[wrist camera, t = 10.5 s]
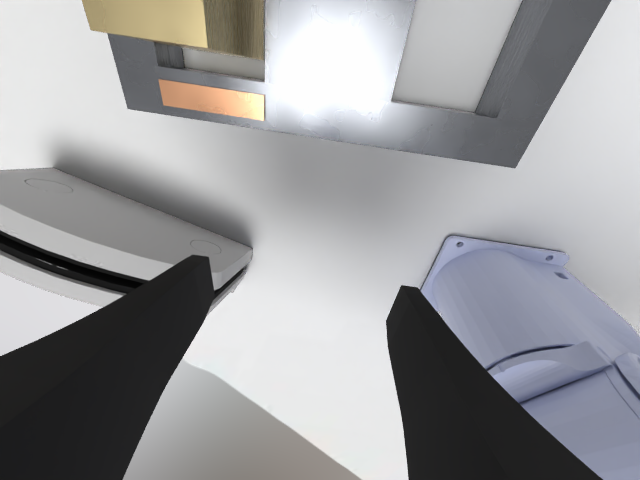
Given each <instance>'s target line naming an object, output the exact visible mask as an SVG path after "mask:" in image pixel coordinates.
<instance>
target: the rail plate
mask: <svg viewBox="0 0 640 480" xmlns="http://www.w3.org/2000/svg"><path fill="white" fill-rule="evenodd" d="M610 2H611V0H523V1H522V4H521V6H520V8H519V11H518V13H517V15H516V18H515V20H514V22H513V25H512V27H511V30H510V32H509V34H508V37H507V39H506V41H505V44H504V46H503V48H502V51H501V53H500V55H499V58H498V60H497V62H496V65H495V67H494V69H493V72H492V74H491V76H490V79H489V81H488V83H487V86H486V88H485V90H484V93H483V95H482V97H481V100H480V102H479V105H478V107H477V109H476V112H475V113H474V112H467V111H461V110H454V109H448V108H441V107H435V106H428V105H422V104H415V103H409V102H402V101H396V100H391V98H392V94H393V90H394V86H395V82H396V78H397V74H398V70H399V66H400V62H401V58H402V54H403V50H404V47H405V43H406V39H407V35H408V31H409V27H410V23H411V19H412V15H413V11H414V7H415V3H416V0H265V80H259V79H253V78H246V77H240V76H233V75H227V74H220V73H213V72H207V71H200V70H194V69H187V68H184V61H183V54H182V47H177V46H172V45H167V44H162V43H156V42H151V41H146V40H140V39H135V38H130V37H125V36H119V35H114V34H109V33H107V34H108V37H109V41H110V45H111V49H112V52H113V56H114V60H115V63H116V67H117V71H118V74H119V78H120V82H121V85H122V89H123V93H124V97H125V100H126V104H127V108H128V109H131V110H138V111H145V112H151V113H158V114H164V115H171V116H177V117H184V118H190V119H197V120H203V121H210V122H216V123H223V124H230V125H236V126H243V127H249V128H256V129H262V130H269V131H275V132H282V133H288V134H295V135H301V136H308V137H314V138H321V139H328V140H334V141H341V142H347V143H354V144H360V145H367V146H373V147H380V148H386V149H393V150H399V151H406V152H413V153H419V154H426V155H432V156H439V157H445V158H452V159H458V160H465V161H471V162H478V163H484V164H491V165H497V166H504V167H511V168H516V166H517V164H518V163H519V161H520V159H521V157H522V156H523V154H524V152H525V150H526V149H527V147H528V145H529V143H530V142H531V140H532V138H533V136H534V135H535V133H536V131H537V129H538V128H539V126H540V124H541V122H542V121H543V119H544V117H545V115H546V114H547V112H548V110H549V108H550V107H551V105H552V103H553V101H554V100H555V98H556V96H557V94H558V93H559V91H560V89H561V87H562V86H563V84H564V82H565V80H566V79H567V77H568V75H569V73H570V72H571V70H572V68H573V66H574V65H575V63H576V61H577V59H578V58H579V56H580V54H581V52H582V51H583V49H584V47H585V45H586V44H587V42H588V40H589V38H590V37H591V35H592V33H593V31H594V30H595V28H596V26H597V24H598V23H599V21H600V19H601V17H602V16H603V14H604V12H605V10H606V9H607V7H608V5H609V3H610Z"/></svg>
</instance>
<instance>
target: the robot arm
mask: <svg viewBox="0 0 640 480" xmlns="http://www.w3.org/2000/svg"><path fill="white" fill-rule="evenodd" d="M458 242H461V243H460V244H457V243H458ZM456 244H457V245H456ZM547 256H548V257H547ZM568 260H569V256H568V255H567V254H566V253H564V252H558V251H551V250H545V249H538V248H531V247H525V246H518V245H512V244H505V243H499V242H492V241H485V240H479V239H472V238H466V237H459V236H450V237H448V238H447V239H446V241H445V243H444V245H443V247H442V249H441V251H440V253H439V255H438V257H437V259H436V261H435V263H434V265H433V267H432V269H431V271H430V273H429V275H428V277H427V279H426V281H425V283H424V285H423V287H422V289H421V291H420V290H419V289H418V288H417V287H410V286H403V285H401V287H400V290H399V292H398V294H397V297H396V299H395V301H394V304H393V306H392V308H391V311H390V313H389V315H388V318H387V320H386V326H387V340H388V349H389V355H390V360H391V365H392V370H393V375H394V380H395V385H396V390H397V395H398V400H399V405H400V410H401V416H402V422H403V429H404V438H405V447H406V456H407V466H408V477H409V480H640V337H639V335H638V334H637V332H636V331H635V330H634V329H633V327H632V326H631V325H630V324H629V323H628V322H626V321H625V320H624V319H623V318H622V317H621V316H619V315H618V314H617V313H616V312H615V311H614V310H613V309H611V308H610V307H609V306H608V305H607V304H606V303H604V302H603V301H602V300H601V299H600V298H599V297H597V296H596V295H595V294H594V293H593V292H592V291H590V290H589V289H588V288H587V287H586V286H585V285H583V284H582V283H581V282H580V281H579V280H578V279H577V278H575V277H574V276H573V275H572V274H571V273H570V272H568V271H567V270H566V269H565V268H564V267H563V266H564V265H565V264H566V263H567V261H568ZM214 297H215V293H214V286H213V280H212V273H211V267H210V261H209V257H207V256H200V255H193V254H192V255H191V256H189V257H187V258H185V259H184V260H182V261H181V262H179V263H177V264H176V265H174V266H172V267H171V268H169V269H168V270H166V271H164V272H163V273H161V274H160V275H158V276H156V277H155V278H153V279H151V280H150V281H148V282H146V283H145V284H143V285H141V286H140V287H138V288H136V289H135V290H133V291H131V292H130V293H128V294H126V295H124V296H122V297H121V298H119V299H117V300H115V301H113V302H112V303H110V304H108V305H106V306H105V307H103V308H101V309H99V310H98V311H96V312H94V313H92V314H90V315H88V316H86V317H84V318H82V319H80V320H78V321H76V322H74V323H72V324H70V325H68V326H66V327H64V328H62V329H60V330H58V331H56V332H54V333H52V334H50V335H48V336H45V337H43V338H41V339H39V340H37V341H34V342H32V343H30V344H28V345H25V346H23V347H21V348H18V349H16V350H14V351H11V352H9V353H7V354H5V355H2V356H0V480H122V479H123V477H124V475H125V472H126V470H127V468H128V465H129V463H130V461H131V459H132V456H133V454H134V452H135V450H136V448H137V445H138V443H139V441H140V439H141V437H142V434H143V432H144V430H145V427H146V426H147V423H148V421H149V419H150V417H151V415H152V413H153V411H154V409H155V407H156V405H157V403H158V401H159V398H160V396H161V394H162V392H163V390H164V389H165V387H166V385H167V383H168V381H169V380H170V378H171V376H172V374H173V373H174V371H175V369H176V368H177V366H178V364H179V363H180V361H181V359H182V358H183V356H184V354H185V353H186V351H187V349H188V348H189V346H190V344H191V342H192V341H193V339H194V337H195V336H196V334H197V332H198V331H199V329H200V327H201V325H202V324H203V322H204V320H205V318H206V316H207V313H208V311H209V309H210V306H211V304H212V302H213V299H214ZM437 311H440V313H441V315H442V317H443V319H442V318H441V316H440V315H439V314H438V313H437Z"/></svg>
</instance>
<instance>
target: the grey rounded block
mask: <svg viewBox="0 0 640 480" xmlns="http://www.w3.org/2000/svg"><path fill="white" fill-rule="evenodd" d="M252 253H253V248H251V247H248V246H246V245H243V244H241V243H238V242H236V241H233V240H231V239H228V238H226V237H223V236H221V235H218V234H216V233H213V232H211V231H208V230H206V229H204V228H201V227H199V226H196V225H194V224H191V223H189V222H186V221H184V220H181V219H179V218H176V217H174V216H171V215H169V214H166V213H164V212H161V211H159V210H156V209H154V208H151V207H149V206H146V205H144V204H141V203H139V202H137V201H134V200H132V199H129V198H127V197H124V196H122V195H119V194H117V193H114V192H112V191H109V190H107V189H104V188H102V187H99V186H97V185H94V184H92V183H89V182H87V181H84V180H82V179H79V178H77V177H74V176H72V175H70V174H67V173H65V172H62V171H60V170H57V169H55V168H36V169H16V170H0V272H2V273H4V274H6V275H8V276H10V277H13V278H15V279H17V280H20V281H22V282H24V283H27V284H30V285H32V286H35V287H38V288H41V289H43V290H46V291H49V292H52V293H55V294H58V295H61V296H65V297H68V298H71V299H75V300H78V301H82V302H85V303H89V304H93V305H97V306H101V307H105V306H106V305H108V304H110V303H112V302H113V301H115V300H117V299H119V298H121V297H122V296H124V295H126V294H128V293H130V292H131V291H133V290H135V289H136V288H138V287H140V286H141V285H143V284H145V283H146V282H148V281H150V280H151V279H153V278H155V277H156V276H158V275H160V274H161V273H163V272H164V271H166V270H168V269H169V268H171V267H172V266H174V265H176V264H177V263H179V262H181V261H182V260H184V259H185V258H187V257H189V256H191V255H192V254H193V255H200V256H207V257H209V261H210V267H211V273H212V280H213V286H214V293H215V297H214V299H213V302H212V304H211V306H210V309H209V311H208V313H207V315H208V314H209V313H210V312H211V311H212V310H213V309H214V308H215V307H216V306H217V305H218V304H219V303H220V302H221V301H222V300H223V299H224V298H225V297H226V296H227V295H228V294H229V293H230V292H231V293H233V292H234V290H235V289H236V287H237V286H238V284H239V283H240V281H241V280H242V278H243V277H244V275H245V274H246V273H245V272H243V270H244V269H243V267H244V266H245V265H246V264H248V263H249V262H250V261H251V259H252Z"/></svg>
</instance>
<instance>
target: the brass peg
mask: <svg viewBox="0 0 640 480" xmlns="http://www.w3.org/2000/svg"><path fill="white" fill-rule="evenodd" d="M82 2H83V6H84V9H85V12H86V16H87V19H88V23H89V26H90V29H91V30H93V31H98V32H103V33H109V34H114V35H119V36H125V37H130V38H135V39H140V40H146V41H151V42H156V43H162V44H167V45H172V46H177V47H183V48H188V49H193V50H200V51H206V52H213V53H219V54H226V55H232V56H239V57H245V58H252V59H258V60H263V0H82Z"/></svg>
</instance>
